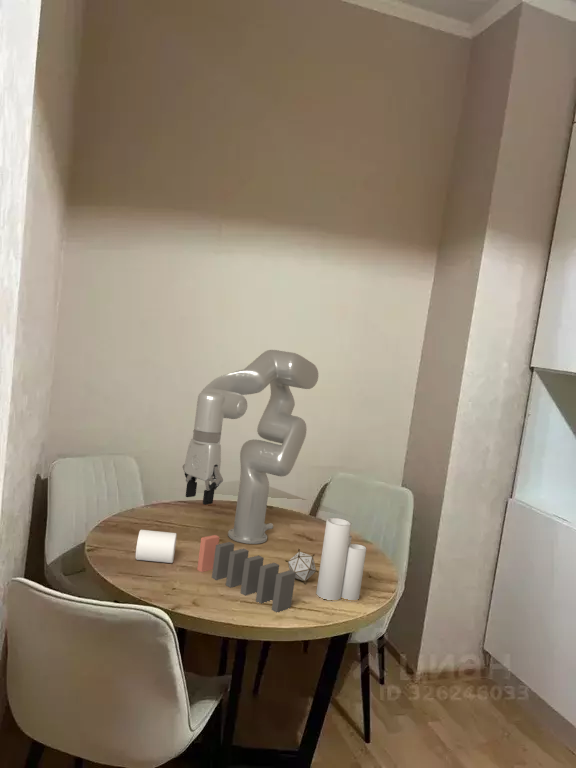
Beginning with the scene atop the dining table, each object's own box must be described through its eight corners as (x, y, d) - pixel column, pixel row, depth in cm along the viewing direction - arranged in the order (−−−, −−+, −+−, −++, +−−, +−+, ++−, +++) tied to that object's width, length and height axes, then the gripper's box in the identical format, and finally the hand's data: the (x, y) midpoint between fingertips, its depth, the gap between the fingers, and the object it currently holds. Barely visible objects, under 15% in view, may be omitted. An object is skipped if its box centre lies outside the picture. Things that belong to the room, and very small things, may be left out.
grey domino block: (285, 605, 159) (290, 570, 159) (290, 607, 158) (295, 572, 158) (271, 609, 156) (276, 574, 155) (277, 612, 155) (282, 576, 154)
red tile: (211, 566, 178) (215, 534, 177) (215, 568, 177) (219, 536, 176) (197, 569, 174) (201, 537, 173) (201, 572, 173) (205, 539, 172)
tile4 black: (254, 588, 167) (258, 555, 166) (259, 591, 166) (263, 557, 165) (240, 593, 163) (244, 558, 162) (245, 595, 162) (249, 561, 161)
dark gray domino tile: (239, 581, 170) (243, 548, 170) (244, 583, 169) (248, 550, 168) (225, 585, 167) (230, 551, 166) (230, 587, 165) (234, 553, 165)
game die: (292, 590, 178) (286, 554, 183) (322, 584, 178) (315, 548, 182) (287, 585, 170) (281, 547, 175) (319, 578, 170) (311, 541, 175)
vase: (321, 601, 164) (332, 525, 163) (312, 589, 171) (322, 516, 170) (361, 601, 168) (372, 527, 166) (351, 589, 175) (361, 518, 173)
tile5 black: (269, 596, 163) (274, 562, 162) (274, 599, 162) (279, 565, 161) (255, 601, 159) (260, 566, 159) (260, 604, 158) (265, 568, 157)
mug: (171, 567, 174) (175, 538, 173) (134, 563, 173) (137, 535, 172) (175, 551, 186) (178, 525, 185) (140, 548, 185) (143, 521, 184)
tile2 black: (225, 574, 174) (229, 541, 173) (230, 576, 173) (234, 544, 172) (211, 577, 170) (215, 544, 169) (216, 580, 169) (220, 547, 168)
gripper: (176, 430, 180) (168, 493, 181) (217, 444, 168) (209, 510, 170) (196, 430, 185) (189, 490, 187) (238, 443, 174) (230, 507, 175)
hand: (199, 499), depth 178 cm, fingers open, 6 cm apart
